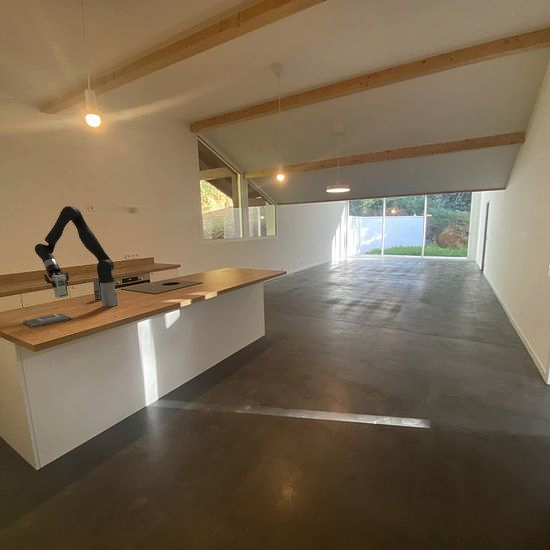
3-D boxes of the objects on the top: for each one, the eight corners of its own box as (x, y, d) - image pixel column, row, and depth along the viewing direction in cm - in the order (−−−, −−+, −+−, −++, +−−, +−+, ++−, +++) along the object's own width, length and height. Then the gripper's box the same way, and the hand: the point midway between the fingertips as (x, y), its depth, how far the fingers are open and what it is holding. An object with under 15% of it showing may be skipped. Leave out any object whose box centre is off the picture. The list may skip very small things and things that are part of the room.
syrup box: (59, 298, 210) (56, 276, 208) (54, 297, 214) (51, 275, 211) (68, 296, 215) (65, 274, 213) (64, 295, 218) (61, 274, 216)
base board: (61, 315, 210) (60, 311, 210) (71, 319, 199) (71, 315, 199) (23, 322, 195) (22, 318, 195) (32, 327, 184) (32, 323, 183)
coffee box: (101, 300, 254) (99, 279, 252) (94, 299, 255) (92, 279, 253) (109, 297, 263) (107, 277, 261) (103, 297, 264) (100, 277, 262)
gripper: (40, 264, 210) (49, 284, 205) (65, 262, 221) (74, 280, 216) (38, 272, 214) (47, 291, 209) (63, 269, 225) (72, 287, 220)
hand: (61, 286), depth 212 cm, fingers closed on syrup box, 6 cm apart
